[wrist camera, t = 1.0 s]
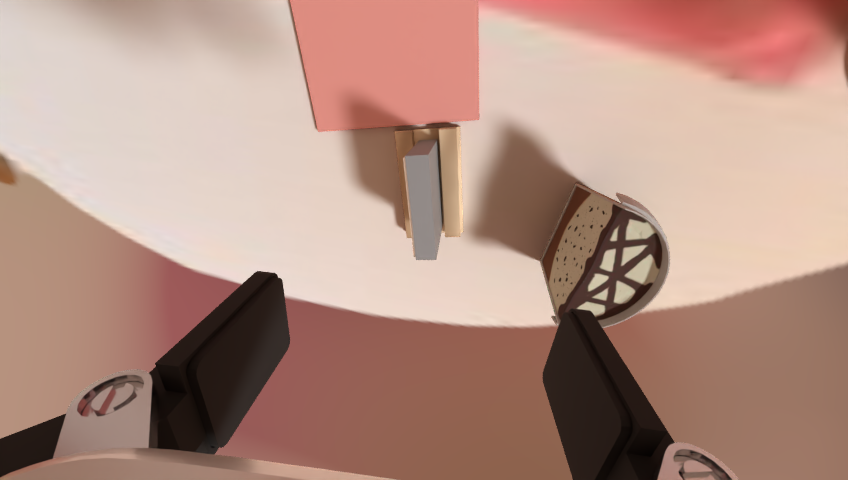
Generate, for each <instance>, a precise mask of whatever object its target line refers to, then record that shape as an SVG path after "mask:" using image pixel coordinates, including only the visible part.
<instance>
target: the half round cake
mask: <svg viewBox="0 0 848 480" xmlns="http://www.w3.org/2000/svg"><path fill="white" fill-rule="evenodd" d="M616 196H617V197H618V199H619V200H620V202H621V203H619V202H617V201H615V200H613V199H611V198H609V197H607V196H605V195H603V194H600V193H598V192H596V191H594V190H592V189H590V188H588V187H586V186H584V185H581V184H578V183H575V186H574V188H573V190H572V192H571V194H570V197H569V199H568V201H567V203H566V205H565V208H564V210H563V212H562V214H561V216H560V219H559V221H558V223H557V225H556V227H555V229H554V232H553V234H552V236H551V238H550V240H549V243H548V245H547V247H546V249H545V251H544V254H543V256H542V258H541V260H540V263H541V267H542V270H543V274H544V277H545V281H546V284H547V288H548V291H549V295H550V298H551V302H552V305H553V309H554V312H555V316H552V317H551V318H552V319H553V321H554V322H555V324H556V325H558V326H559V324H560V321H561V318H562V315H563V313H564V312H569V310H570V309H572V308H574V309H582V310H590V311H591V312H592V313H593V314H594V316H595V317H596V319H597V320H598V322H599V324H600V325H601V327H602V328H605V327H609V326H612V325H615V324H618V323H620V322H623V321H625V320H627V319H629V318H630V317H632V316H634V315H636V314H637V313H638V312H640V311H641V310H643V309H644V308H645V307H646V306H647V305H648V304H649V303H650V302H652V300H653V299H654V298H655V297H656V296H657V294H658V293H659V292H660V290H661V288H662V287H663V285H664V283H665V280H666V278H667V275H668V272H669V266H670V252H669V246H668V242H667V238H666V236H665V234H664V232H663V230H662V228H661V226H660V225H659V223H658V222H657V220H656V219H655V218H654V216H653V215H652V214H651V213H650V212H649V210H648V209H646V208H645V207H644V206H643V205H642V204H640V203H639V202H637V201H635V200H634V199H632V198H630V197H628V196H625V195H622V194H619V193H616Z"/></svg>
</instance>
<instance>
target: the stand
mask: <svg viewBox="0 0 848 480" xmlns="http://www.w3.org/2000/svg"><path fill="white" fill-rule="evenodd" d="M394 133H395V141H396V150H397V159H398V167H399V176H400V185H401V193H402V202H403V211H404V219H405V228H406V234H407V238H412V236H411V227H410V218H409V209H408V199H407V190H406V181H405V172H404V162H403V158H404V157H405V155H406V154H407V153H408V152H409V151H410V150H411V149H412V148H413V147H414V146H415V145H416V143H417V142H418V141H419V140H432V139H438V155H439V171H440V188H441V204H442V221H443V225H442V231H441V233H444V232H445V237H460V232H463V208H462V176H461V144H460V126H456V127H442V128H429V129H415V130H401V131H394Z"/></svg>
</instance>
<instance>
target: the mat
mask: <svg viewBox="0 0 848 480" xmlns="http://www.w3.org/2000/svg"><path fill="white" fill-rule="evenodd" d="M290 2H291V7H292V12H293V16H294V21H295V26H296V30H297V35H298V40H299V44H300V49H301V54H302V59H303V63H304V68H305V73H306V77H307V82H308V87H309V91H310V96H311V101H312V105H313V110H314V115H315V119H316V124H317V129H318V132H323V131H336V130H349V129H363V128H376V127H389V126H403V125H416V124H429V123H442V122H456V121H469V120H479V46H478V0H290Z"/></svg>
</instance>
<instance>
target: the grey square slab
mask: <svg viewBox="0 0 848 480" xmlns="http://www.w3.org/2000/svg"><path fill="white" fill-rule="evenodd" d="M403 162H404V172H405V181H406V190H407V199H408V209H409V218H410V227H411V236H412V245H413V255H414V257H416V260H436V258H437V253H438V247H439V242H440V236H441V231H442V225H443V221H442V204H441V188H440V171H439V155H438V139H432V140H419V141H418V142H417V143H416V145H415V146H414V147H413V148H412V149H411V150H410V151H409V152H408V153H407V154H406V155H405V157H404V158H403Z"/></svg>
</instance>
